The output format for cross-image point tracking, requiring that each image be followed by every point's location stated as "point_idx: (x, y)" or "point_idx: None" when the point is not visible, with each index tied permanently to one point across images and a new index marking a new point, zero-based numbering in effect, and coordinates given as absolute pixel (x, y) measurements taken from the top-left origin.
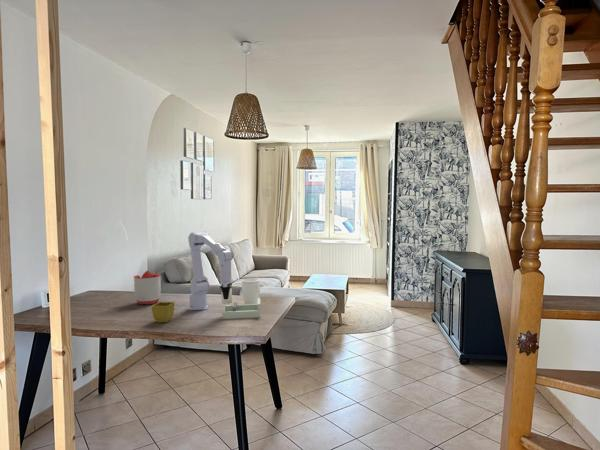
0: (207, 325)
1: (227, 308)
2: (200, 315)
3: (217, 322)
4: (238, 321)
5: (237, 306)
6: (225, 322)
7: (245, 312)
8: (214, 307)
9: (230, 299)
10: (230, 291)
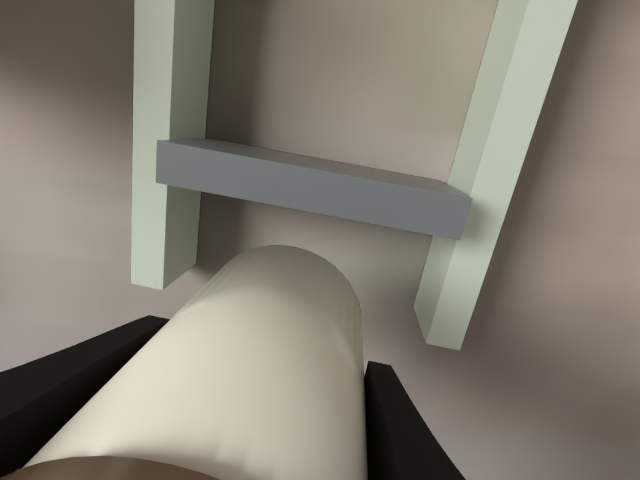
0: (593, 447)
1: (179, 252)
2: None
3: (540, 367)
4: (618, 175)
5: (176, 135)
6: (581, 304)
7: (548, 60)
8: (3, 331)
9: (340, 303)
10: (324, 421)
